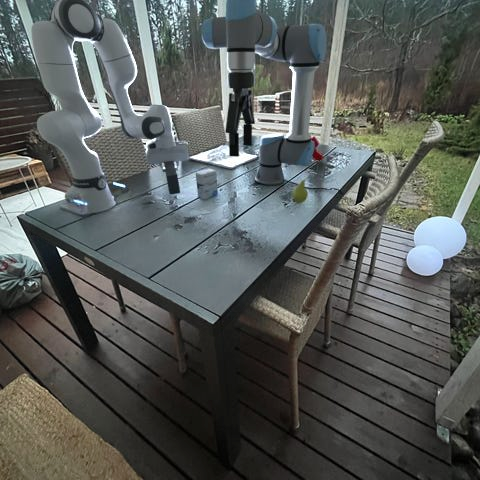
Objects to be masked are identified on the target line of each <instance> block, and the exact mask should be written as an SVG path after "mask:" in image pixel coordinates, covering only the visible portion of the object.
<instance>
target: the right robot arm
mask: <svg viewBox="0 0 480 480" xmlns="http://www.w3.org/2000/svg"><path fill="white" fill-rule="evenodd" d="M257 9H258V8H257V1H256V0H226V1H225V16H218V17H217V16H213V17H209V18H206V19H205V20H204V21H203V22H202V25H201V29H200V30H201V31H200V32H201V39H202V42H203V44H204V45H205V47H206V48H208V49H214V50H217V49H224V50H226V57H225V61H226V63H227V70H228V71H229V72H228V73H227V74H226V75H227V87H228V88H229V89H233V92H229V93H228V106H227V115H226V122H225V123H226V124H225V130H224V131H225V134H228V147H229V154H230V156H235V157H238V156H239V149H240V133H239V132H238V130H239V128H240V127H239V126H240V123H241V122H240V121H241V117H242V119H243V143H242V144H243V146H250V147H252V146H253V125H255V124H256V120H255V114H254V113H255V112H254V104H253V90H252V89H254V87H255V78H256V77H255V76H256V74H255V72H253V71H254V70H255V69H256V54H258V55H259V56H260V57H262V58H264V59H270V60H274V61H278V62H283V63H284V62H285V63H287V62H289V69H291V71H292V87H291V88H292V89H291V102H290V120H289V132H288V133H287V134H286V136H285V135H284V134H283V133H270V134H266V135H263V136H261V137H260V139H259V147H258V148H259V153H258V157H259V158H258V167H257V171H256V172H255V178H254V181H255V183H258V184H259V185H262V186H263V185H264V186H279V185H281V184H283V183H284V182H286V183H289V184H293V185H295V186H298V184H299V183H297V182H293V181H290V180H287V179H285V175H284V172H283V171H284V170H283V167H282V165H283V164H286V165H292V166H296V167H298V166H299V167H306V166H307V165H308V164H309V163H310V161H311V160H312V158H313V157H312V155H313V152H314V148H315V143H314V142H313V141H311V138H312V135H311V133H309V132H310V120H311V112H312V111H311V110H312V101H313V91H314V84H315V83H314V82H315V73H316V71H317V69H318V68H319V67H320V63H321V62H323V61H324V60H325V58H326V53H327V43H328V42H327V32H326V30H325V27H324V25H322V24H320V23H305V24H296V25H295V24H294V25H284V26H277V23H276V21H275V20H276V19H274V18H273V17H272V16H270V15H269V14H267V13H263V12H259V11H257ZM327 188H328V187H309V186H305V189H306V190H324V191H337V190H338V191H337V192H339V193H340V194H341V195H344V192H343V191H342V190H341V189H339V188H336V187H329V188H330V189H327ZM332 189H334V190H332Z"/></svg>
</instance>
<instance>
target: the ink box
mask: <svg viewBox="0 0 480 480" xmlns="http://www.w3.org/2000/svg"><path fill="white" fill-rule="evenodd" d="M195 178H196V179H195V180H196V190H197V197H198V198H200V199H202V200H207V199H210V198H211V197H214V196H217V195H219V194H218V193H219V192H218V179H217V178H218V176H217V170H215V169H212V168H207V169H204V170H200V171H196V172H195Z"/></svg>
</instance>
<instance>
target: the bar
mask: <svg viewBox="0 0 480 480" xmlns="http://www.w3.org/2000/svg"><path fill="white" fill-rule="evenodd" d="M175 164H176V163H175V162H174V161H169V162H164V163H163V165H164V168H165V172H164V173H165V178H166V183H167V189H168V193H169V195H177V194H181V188H180V182H179V177H178V171H176V168H175V166H176V165H175Z"/></svg>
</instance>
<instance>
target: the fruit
mask: <svg viewBox="0 0 480 480" xmlns="http://www.w3.org/2000/svg"><path fill="white" fill-rule="evenodd" d="M310 177H311V175H310V174H309V175H308V176H307V177H305V179H302V180H301V181H300V182H298V183H297V184H298V185H296V186H295V187H294V188H293V190H292V191H291V198H292V200H293V201H294V202H295V203H297V204H301V203H304V202H305V201H306V200H307V198H308V196H309V195H308V189H306V188H305V187H306V184H305V183H306V180H308V179H309V178H310Z"/></svg>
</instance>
